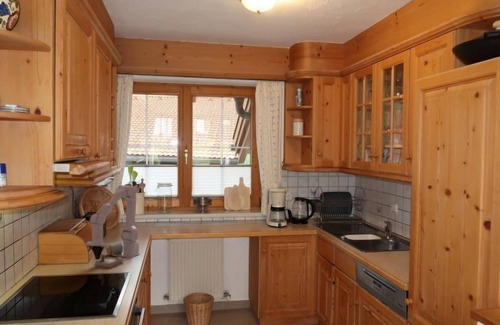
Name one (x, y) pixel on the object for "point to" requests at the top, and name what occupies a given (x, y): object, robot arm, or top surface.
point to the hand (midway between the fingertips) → (97, 259)
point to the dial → (106, 259)
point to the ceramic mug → (115, 249)
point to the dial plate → (108, 265)
